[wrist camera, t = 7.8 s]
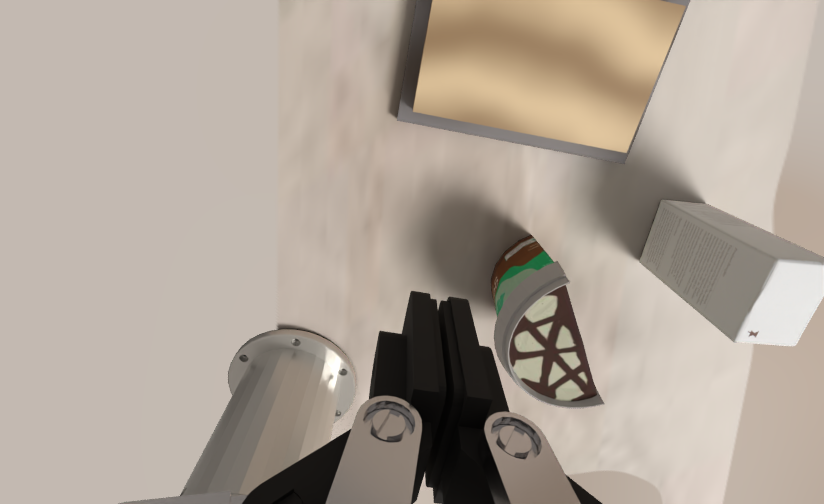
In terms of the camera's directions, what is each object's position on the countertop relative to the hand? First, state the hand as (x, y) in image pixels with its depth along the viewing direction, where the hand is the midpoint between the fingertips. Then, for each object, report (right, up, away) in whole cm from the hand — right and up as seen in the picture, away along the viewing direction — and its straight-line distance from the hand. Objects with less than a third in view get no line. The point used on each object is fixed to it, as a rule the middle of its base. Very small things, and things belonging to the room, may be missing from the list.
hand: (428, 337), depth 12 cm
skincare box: (+22, +4, +24) cm, 33 cm away
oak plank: (+8, +16, +17) cm, 25 cm away
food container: (+9, -1, +26) cm, 28 cm away
